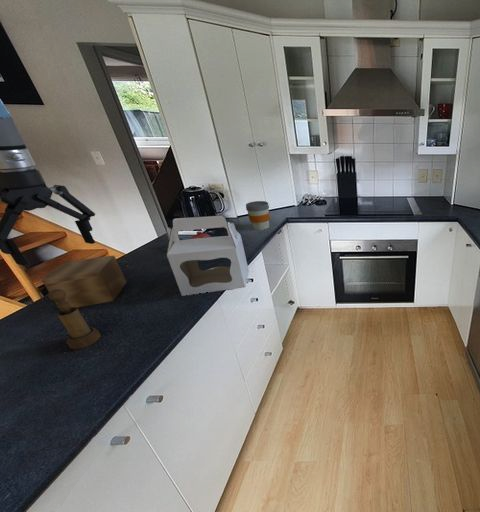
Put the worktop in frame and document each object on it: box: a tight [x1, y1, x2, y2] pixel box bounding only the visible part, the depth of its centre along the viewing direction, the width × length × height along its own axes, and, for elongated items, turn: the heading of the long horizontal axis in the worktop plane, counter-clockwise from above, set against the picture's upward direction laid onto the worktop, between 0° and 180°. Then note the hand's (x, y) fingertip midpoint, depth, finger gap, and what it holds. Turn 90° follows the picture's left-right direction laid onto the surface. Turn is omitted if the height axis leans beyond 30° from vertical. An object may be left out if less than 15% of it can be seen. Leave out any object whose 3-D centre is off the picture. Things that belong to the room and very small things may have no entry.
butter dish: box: [190, 230, 211, 239], centre depth 138 cm, size 12×12×8 cm
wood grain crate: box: [41, 255, 127, 309], centre depth 98 cm, size 14×14×12 cm
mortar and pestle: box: [47, 289, 102, 350], centre depth 76 cm, size 7×6×18 cm
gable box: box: [166, 214, 250, 297], centre depth 104 cm, size 22×13×28 cm, turn 108°
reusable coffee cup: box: [245, 200, 271, 231], centre depth 164 cm, size 13×13×15 cm
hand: (59, 252), depth 72 cm, fingers open, 13 cm apart
